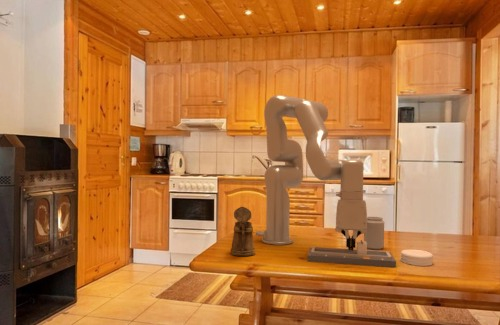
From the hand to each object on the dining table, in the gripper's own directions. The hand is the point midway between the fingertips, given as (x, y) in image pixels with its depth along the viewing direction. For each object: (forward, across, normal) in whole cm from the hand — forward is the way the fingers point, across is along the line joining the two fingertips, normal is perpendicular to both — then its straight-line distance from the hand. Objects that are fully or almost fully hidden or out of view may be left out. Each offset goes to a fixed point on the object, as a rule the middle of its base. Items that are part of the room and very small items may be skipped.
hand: (350, 249), depth 130 cm
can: (+4, +10, +21) cm, 24 cm away
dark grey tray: (+4, 0, 0) cm, 4 cm away
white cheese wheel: (+4, +22, +3) cm, 22 cm away
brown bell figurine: (+4, -37, -4) cm, 38 cm away
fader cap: (+1, +4, 0) cm, 4 cm away
